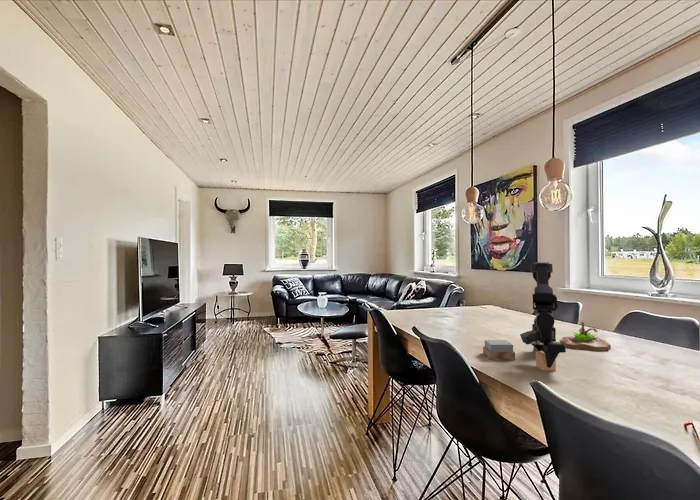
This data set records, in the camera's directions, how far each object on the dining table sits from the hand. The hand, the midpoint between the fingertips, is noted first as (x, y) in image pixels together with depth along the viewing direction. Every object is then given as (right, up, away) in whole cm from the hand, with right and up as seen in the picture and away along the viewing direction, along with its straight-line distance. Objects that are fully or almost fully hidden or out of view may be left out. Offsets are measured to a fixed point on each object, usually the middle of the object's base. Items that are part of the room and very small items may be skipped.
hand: (545, 365), depth 134 cm
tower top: (-11, +1, +17) cm, 20 cm away
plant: (+37, -2, +33) cm, 50 cm away
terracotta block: (0, -1, 0) cm, 1 cm away
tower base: (-11, -2, +17) cm, 20 cm away
